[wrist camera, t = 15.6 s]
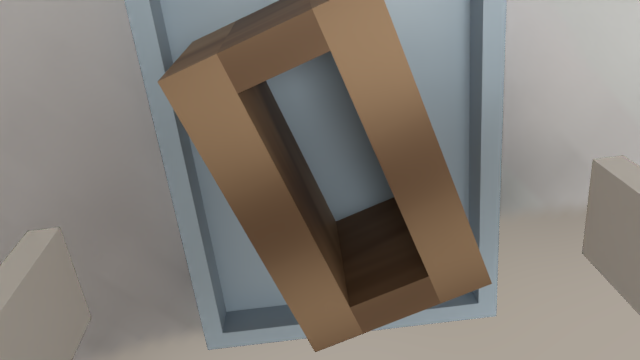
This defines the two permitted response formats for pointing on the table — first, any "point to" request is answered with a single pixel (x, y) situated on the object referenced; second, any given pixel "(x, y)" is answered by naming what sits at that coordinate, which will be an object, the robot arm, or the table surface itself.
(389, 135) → the brown wooden hollow block
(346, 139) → the tray
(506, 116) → the table surface
